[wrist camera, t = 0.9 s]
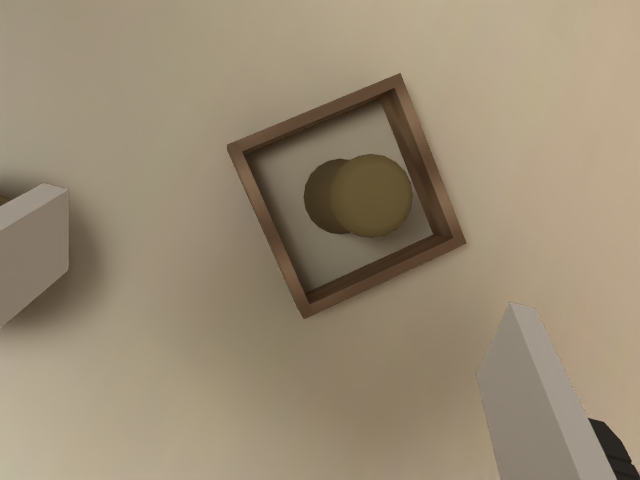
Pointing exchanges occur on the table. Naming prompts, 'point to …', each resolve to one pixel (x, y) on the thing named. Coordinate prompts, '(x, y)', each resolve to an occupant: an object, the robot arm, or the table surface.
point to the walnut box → (420, 172)
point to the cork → (358, 196)
